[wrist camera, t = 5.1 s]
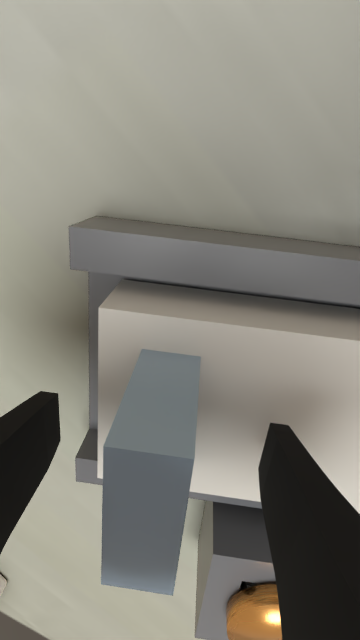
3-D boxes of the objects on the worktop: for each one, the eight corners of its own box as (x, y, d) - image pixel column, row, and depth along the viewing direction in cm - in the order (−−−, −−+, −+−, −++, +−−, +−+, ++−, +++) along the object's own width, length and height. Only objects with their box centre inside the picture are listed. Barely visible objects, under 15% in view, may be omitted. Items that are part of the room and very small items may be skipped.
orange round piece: (314, 518, 18) (342, 614, 14) (294, 570, 20) (315, 668, 16) (230, 505, 18) (235, 597, 14) (218, 558, 20) (219, 653, 16)
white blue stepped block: (420, 316, 14) (643, 471, 7) (360, 459, 17) (469, 670, 10) (122, 279, 14) (32, 387, 7) (117, 425, 17) (50, 603, 10)
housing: (487, 261, 14) (622, 306, 9) (345, 562, 22) (381, 667, 17) (96, 216, 14) (42, 236, 10) (95, 524, 22) (64, 616, 18)
